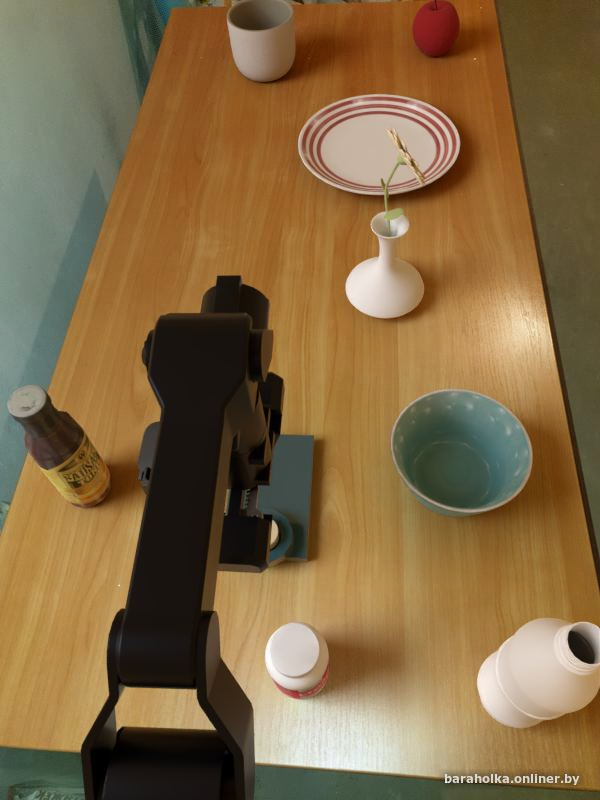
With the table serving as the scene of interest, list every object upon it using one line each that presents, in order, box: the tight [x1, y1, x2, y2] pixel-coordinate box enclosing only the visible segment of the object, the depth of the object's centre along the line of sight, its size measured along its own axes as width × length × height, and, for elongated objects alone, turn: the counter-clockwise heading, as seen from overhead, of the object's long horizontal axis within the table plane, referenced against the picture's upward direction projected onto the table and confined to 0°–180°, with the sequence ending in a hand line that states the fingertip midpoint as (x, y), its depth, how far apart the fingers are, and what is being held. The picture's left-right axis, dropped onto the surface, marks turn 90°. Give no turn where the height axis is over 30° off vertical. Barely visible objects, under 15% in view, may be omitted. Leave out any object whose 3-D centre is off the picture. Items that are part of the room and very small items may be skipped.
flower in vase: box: [345, 127, 426, 320], centre depth 84 cm, size 13×11×25 cm
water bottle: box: [476, 617, 600, 729], centre depth 55 cm, size 7×7×25 cm
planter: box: [226, 0, 296, 83], centre depth 121 cm, size 12×12×11 cm
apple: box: [411, 0, 461, 57], centre depth 122 cm, size 9×9×10 cm
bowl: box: [389, 388, 534, 518], centre depth 75 cm, size 16×16×8 cm
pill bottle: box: [264, 621, 330, 700], centre depth 63 cm, size 6×6×11 cm
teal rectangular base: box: [226, 433, 315, 568], centre depth 77 cm, size 17×10×3 cm, turn 176°
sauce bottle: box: [6, 384, 112, 509], centre depth 72 cm, size 6×6×20 cm
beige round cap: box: [270, 520, 279, 549], centre depth 72 cm, size 4×4×2 cm
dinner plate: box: [297, 93, 461, 196], centre depth 109 cm, size 27×27×3 cm
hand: (253, 500), depth 64 cm, fingers open, 7 cm apart
